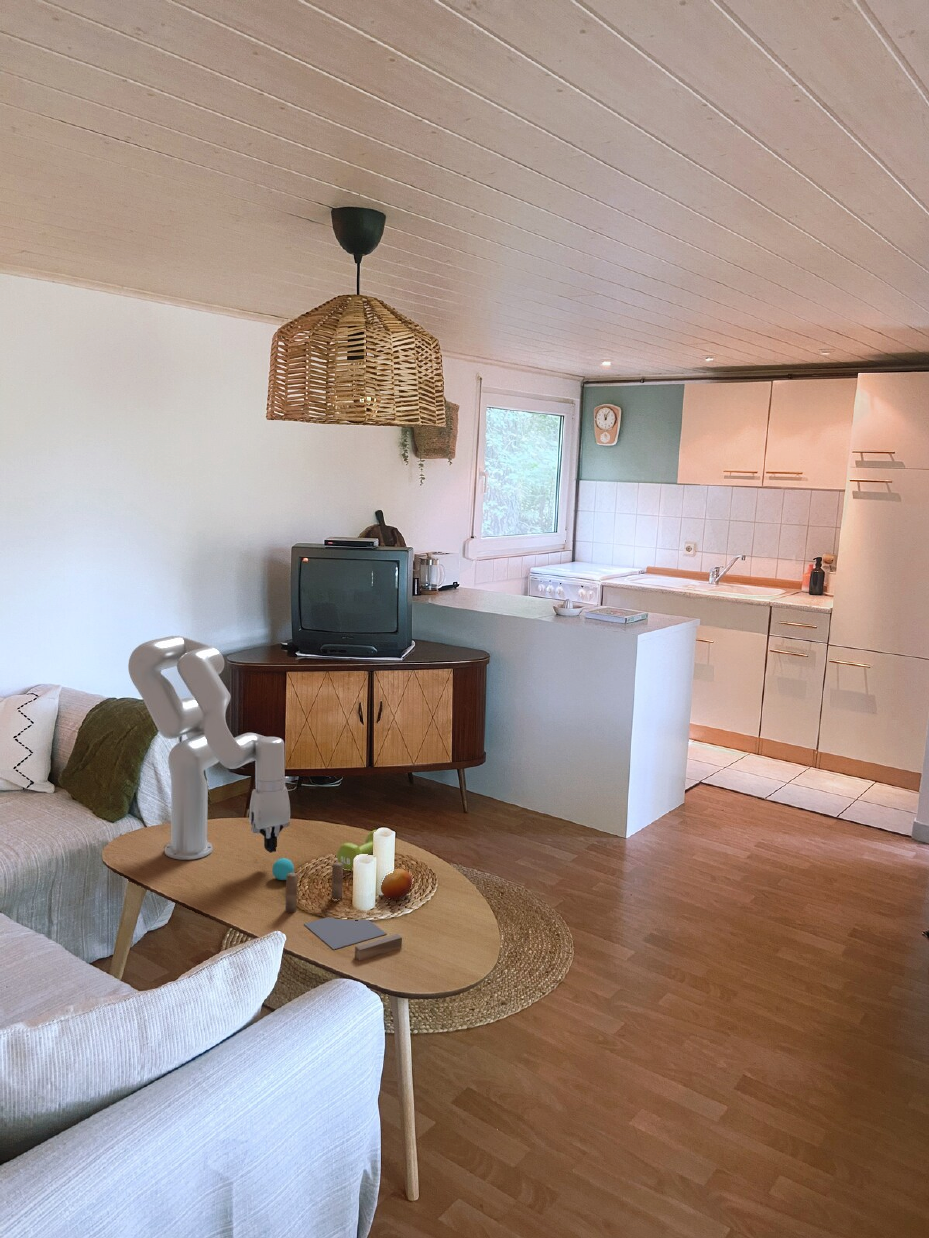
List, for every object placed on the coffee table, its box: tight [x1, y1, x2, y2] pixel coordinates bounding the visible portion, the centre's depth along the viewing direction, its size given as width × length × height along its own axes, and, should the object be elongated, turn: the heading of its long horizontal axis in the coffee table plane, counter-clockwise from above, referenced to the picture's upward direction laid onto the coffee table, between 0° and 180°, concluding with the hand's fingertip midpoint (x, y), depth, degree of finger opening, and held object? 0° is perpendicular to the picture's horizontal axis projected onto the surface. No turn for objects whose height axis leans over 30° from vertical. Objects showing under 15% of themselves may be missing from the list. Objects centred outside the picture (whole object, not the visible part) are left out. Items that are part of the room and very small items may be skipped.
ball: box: [272, 857, 295, 881], centre depth 240 cm, size 6×6×6 cm
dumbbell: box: [336, 829, 378, 873], centre depth 254 cm, size 16×8×7 cm, turn 147°
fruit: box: [380, 868, 413, 901], centre depth 234 cm, size 8×8×8 cm
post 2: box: [330, 861, 344, 900], centre depth 230 cm, size 3×3×9 cm
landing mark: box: [303, 916, 387, 950], centre depth 216 cm, size 14×14×1 cm
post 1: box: [284, 872, 299, 914], centre depth 223 cm, size 3×3×9 cm
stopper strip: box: [354, 933, 403, 962], centre depth 206 cm, size 2×11×2 cm, turn 127°
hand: (270, 850), depth 247 cm, fingers closed
